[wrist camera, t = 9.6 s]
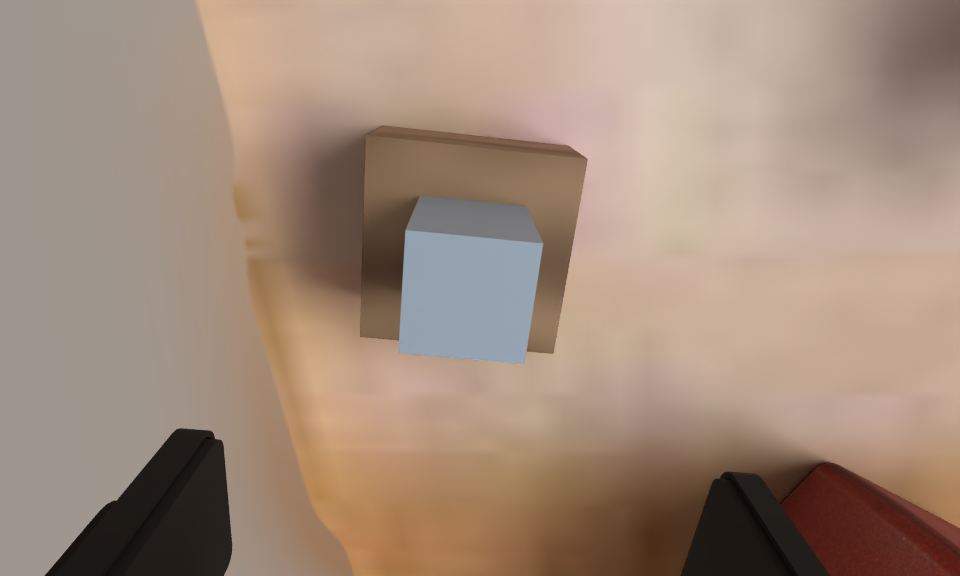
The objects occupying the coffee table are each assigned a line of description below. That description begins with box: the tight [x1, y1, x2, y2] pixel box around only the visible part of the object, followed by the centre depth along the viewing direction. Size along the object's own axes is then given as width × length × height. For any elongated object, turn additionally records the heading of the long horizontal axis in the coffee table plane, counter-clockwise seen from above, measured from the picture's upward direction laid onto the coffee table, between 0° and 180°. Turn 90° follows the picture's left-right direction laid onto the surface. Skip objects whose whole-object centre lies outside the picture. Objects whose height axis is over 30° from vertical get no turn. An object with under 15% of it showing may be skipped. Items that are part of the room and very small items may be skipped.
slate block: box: [398, 196, 543, 364], centre depth 23 cm, size 5×5×6 cm
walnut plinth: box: [360, 126, 588, 354], centre depth 28 cm, size 10×10×5 cm
